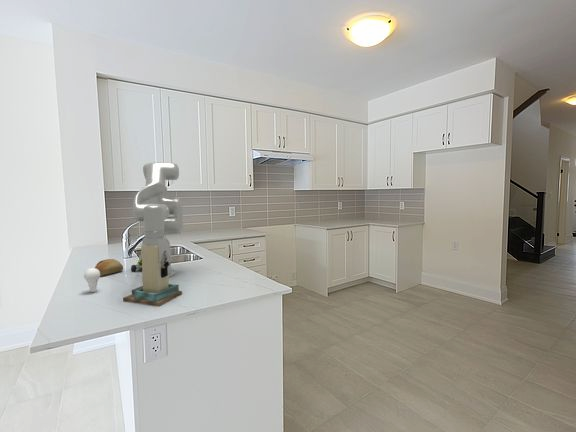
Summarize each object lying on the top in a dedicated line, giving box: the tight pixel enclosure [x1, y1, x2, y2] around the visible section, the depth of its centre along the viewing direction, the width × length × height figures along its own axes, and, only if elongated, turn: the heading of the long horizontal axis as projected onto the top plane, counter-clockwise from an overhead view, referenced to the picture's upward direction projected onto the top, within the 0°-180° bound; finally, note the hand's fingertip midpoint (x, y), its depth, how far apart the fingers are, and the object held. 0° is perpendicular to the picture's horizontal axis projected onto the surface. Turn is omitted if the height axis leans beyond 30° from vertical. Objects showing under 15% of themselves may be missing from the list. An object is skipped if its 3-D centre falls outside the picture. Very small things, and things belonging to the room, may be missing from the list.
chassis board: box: [122, 283, 183, 307], centre depth 124 cm, size 18×14×4 cm
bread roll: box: [94, 258, 124, 277], centre depth 160 cm, size 10×15×8 cm, turn 155°
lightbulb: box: [83, 267, 101, 293], centre depth 130 cm, size 6×6×11 cm
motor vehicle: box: [130, 257, 142, 273], centre depth 172 cm, size 12×19×11 cm, turn 11°
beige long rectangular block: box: [140, 244, 170, 293], centre depth 122 cm, size 8×7×21 cm
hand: (156, 275), depth 123 cm, fingers closed on beige long rectangular block, 8 cm apart
